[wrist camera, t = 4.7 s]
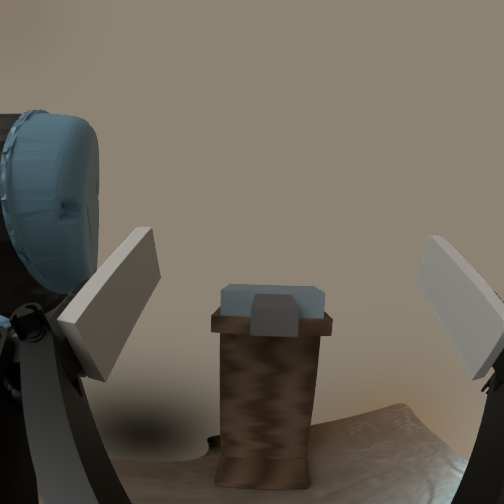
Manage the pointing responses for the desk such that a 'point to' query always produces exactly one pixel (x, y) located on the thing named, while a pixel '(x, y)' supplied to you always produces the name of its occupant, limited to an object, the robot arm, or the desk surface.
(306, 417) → the shelf stand
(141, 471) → the desk surface
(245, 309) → the grey toy mallet
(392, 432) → the desk surface
